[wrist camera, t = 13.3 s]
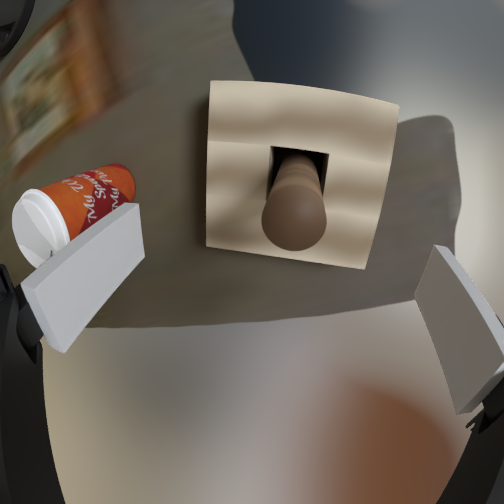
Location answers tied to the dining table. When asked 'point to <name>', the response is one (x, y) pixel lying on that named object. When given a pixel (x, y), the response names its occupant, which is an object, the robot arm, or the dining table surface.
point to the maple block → (306, 138)
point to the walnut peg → (295, 205)
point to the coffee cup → (68, 209)
